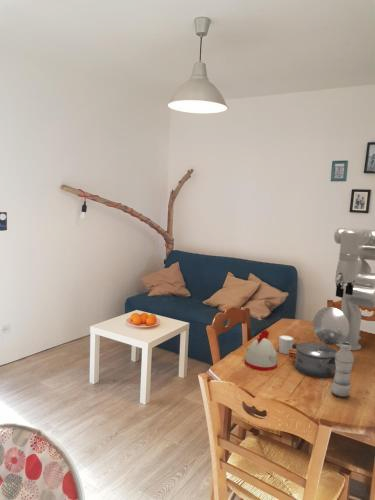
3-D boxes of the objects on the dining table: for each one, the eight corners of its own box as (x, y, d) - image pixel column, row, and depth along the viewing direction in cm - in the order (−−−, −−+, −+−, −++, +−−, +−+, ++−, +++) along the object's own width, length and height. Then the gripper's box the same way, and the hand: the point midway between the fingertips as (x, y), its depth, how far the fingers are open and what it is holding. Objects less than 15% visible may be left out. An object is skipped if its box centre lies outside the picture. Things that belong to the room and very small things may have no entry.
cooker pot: (302, 356, 178) (304, 337, 177) (356, 376, 159) (358, 356, 158) (281, 364, 167) (283, 345, 166) (336, 388, 149) (338, 366, 147)
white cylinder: (292, 355, 179) (294, 341, 178) (277, 353, 180) (279, 339, 179) (292, 349, 186) (293, 336, 185) (277, 348, 187) (278, 334, 186)
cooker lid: (310, 338, 175) (313, 338, 177) (344, 350, 163) (347, 349, 165) (316, 303, 175) (320, 303, 177) (351, 312, 163) (354, 312, 165)
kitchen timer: (282, 364, 168) (285, 331, 166) (266, 374, 158) (269, 339, 156) (255, 354, 177) (258, 323, 175) (238, 363, 167) (240, 330, 165)
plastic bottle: (327, 390, 146) (332, 340, 144) (344, 390, 147) (350, 340, 144) (335, 399, 140) (341, 346, 137) (353, 399, 141) (359, 347, 138)
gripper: (349, 255, 180) (345, 291, 183) (330, 257, 169) (326, 296, 171) (365, 257, 175) (361, 295, 177) (346, 260, 163) (342, 300, 166)
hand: (344, 295), depth 174 cm, fingers open, 8 cm apart
